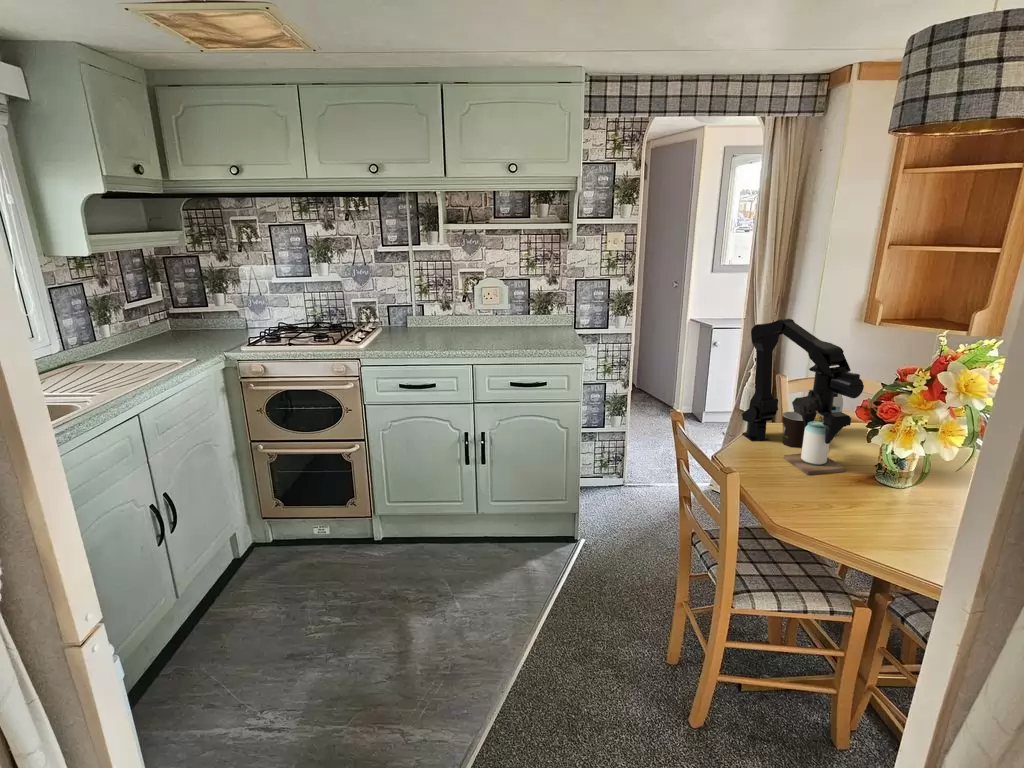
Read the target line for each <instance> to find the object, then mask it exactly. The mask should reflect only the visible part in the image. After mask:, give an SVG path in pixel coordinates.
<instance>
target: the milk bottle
mask: <svg viewBox="0 0 1024 768" xmlns="http://www.w3.org/2000/svg"><path fill="white" fill-rule="evenodd" d="M833 406H835V407H836V410H831V412H842V413H843V409H844V407H843V406H844V398H843V395H841V394H838V397H834V401H833ZM823 418H824V416H823V415H821V414H819V413H817V414H816V417H815V420H814V421H816V422H823V423H825V422H824V420H823ZM839 433H840V431H839V432H838V433H837V434H836V436H838V435H839Z"/></svg>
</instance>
